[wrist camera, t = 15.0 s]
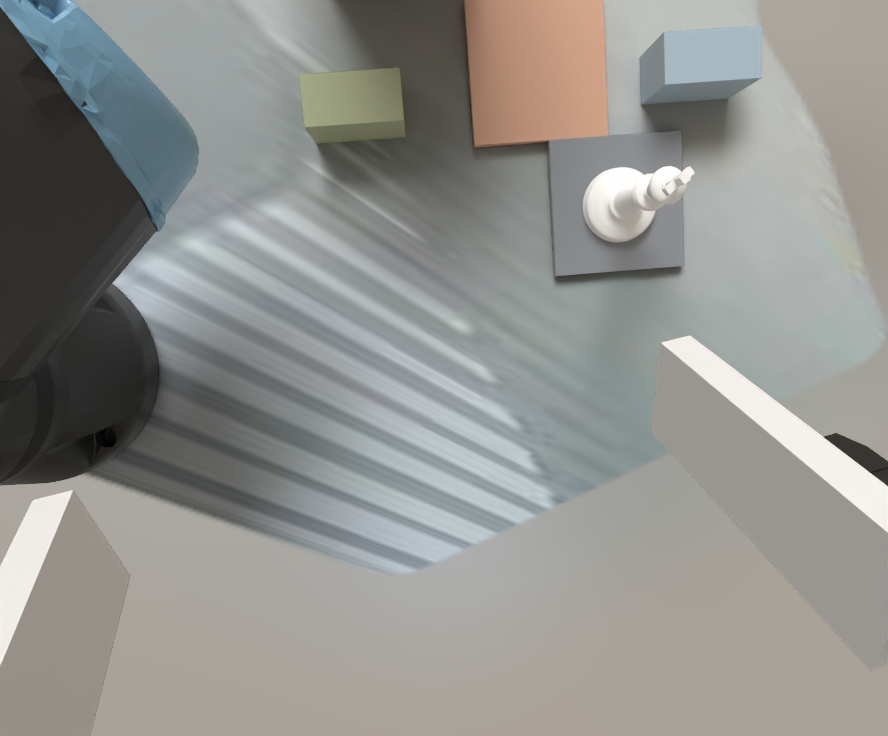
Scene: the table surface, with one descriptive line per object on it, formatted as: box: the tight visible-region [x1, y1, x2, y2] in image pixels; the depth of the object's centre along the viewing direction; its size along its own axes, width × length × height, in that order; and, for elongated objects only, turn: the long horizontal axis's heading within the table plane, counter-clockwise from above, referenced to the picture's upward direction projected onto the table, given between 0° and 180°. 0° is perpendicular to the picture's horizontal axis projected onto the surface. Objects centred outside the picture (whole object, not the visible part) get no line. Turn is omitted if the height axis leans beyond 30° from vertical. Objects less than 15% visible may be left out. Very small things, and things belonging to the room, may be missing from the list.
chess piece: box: [583, 166, 695, 242], centre depth 34 cm, size 5×5×10 cm
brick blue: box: [640, 25, 762, 105], centre depth 37 cm, size 6×3×4 cm, turn 95°
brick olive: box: [299, 68, 406, 144], centre depth 36 cm, size 6×3×4 cm, turn 95°
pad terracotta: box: [464, 0, 608, 148], centre depth 38 cm, size 9×9×1 cm
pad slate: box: [547, 130, 684, 276], centre depth 39 cm, size 9×9×1 cm
